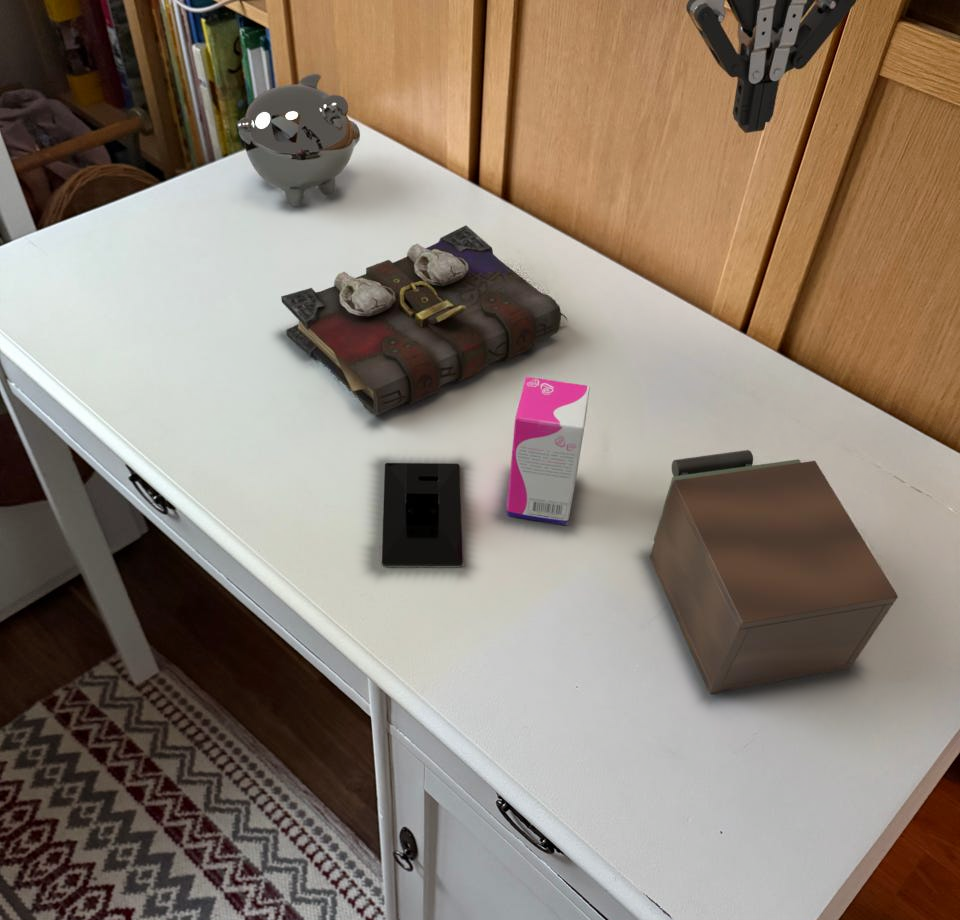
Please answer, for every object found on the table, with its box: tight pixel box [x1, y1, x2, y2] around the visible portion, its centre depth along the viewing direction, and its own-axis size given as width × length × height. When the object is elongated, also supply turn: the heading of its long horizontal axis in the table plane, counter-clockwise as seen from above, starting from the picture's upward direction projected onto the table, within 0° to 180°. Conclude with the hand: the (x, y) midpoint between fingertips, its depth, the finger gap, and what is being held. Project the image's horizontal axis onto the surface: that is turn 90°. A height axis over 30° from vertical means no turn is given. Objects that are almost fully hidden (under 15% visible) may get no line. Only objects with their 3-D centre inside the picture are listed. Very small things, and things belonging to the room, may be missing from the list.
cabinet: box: [649, 460, 899, 694], centre depth 77 cm, size 15×13×10 cm
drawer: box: [653, 449, 801, 542], centre depth 79 cm, size 18×11×8 cm, turn 13°
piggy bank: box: [235, 73, 361, 207], centre depth 111 cm, size 11×15×12 cm
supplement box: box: [506, 376, 591, 526], centre depth 82 cm, size 6×6×12 cm
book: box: [280, 224, 568, 416], centre depth 97 cm, size 26×18×7 cm
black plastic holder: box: [378, 462, 464, 568], centre depth 83 cm, size 12×7×5 cm, turn 2°
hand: (750, 127), depth 76 cm, fingers closed
